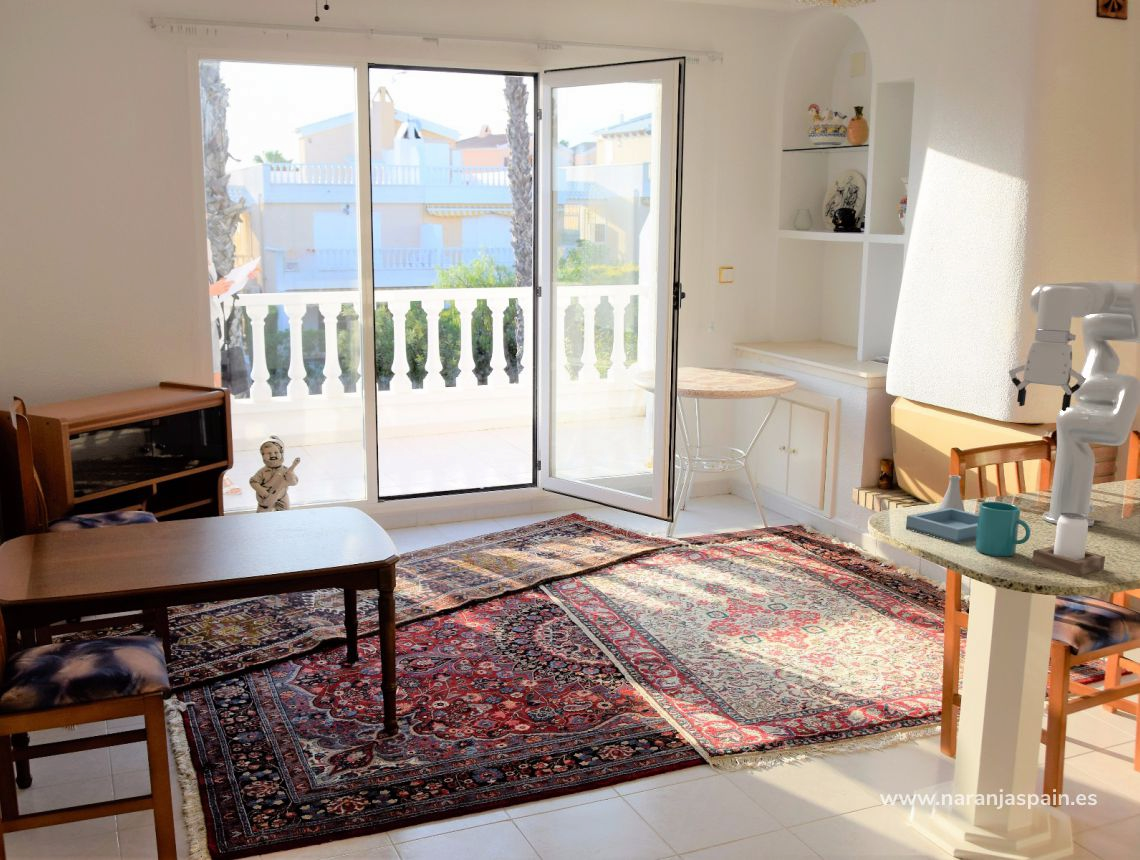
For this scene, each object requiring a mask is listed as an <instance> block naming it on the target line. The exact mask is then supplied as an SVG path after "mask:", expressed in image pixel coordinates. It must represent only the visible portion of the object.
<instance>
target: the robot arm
mask: <svg viewBox="0 0 1140 860" xmlns="http://www.w3.org/2000/svg"><path fill="white" fill-rule="evenodd" d="M1029 307H1030V309H1031V311H1032V312H1033V314H1035V315H1037V317H1036V325H1035V332H1034V334H1035V335H1034V340H1033V341H1031V343H1030V345H1029V347H1028V350H1027V356H1026V359H1025V364H1023V365H1021V366H1017V367H1015V368H1012V369H1010V370H1009V371H1008V374H1009V376H1010V379H1011V382H1012V383H1013V385H1014V386H1015V387H1016V388H1017V390H1018V391H1017V392H1018V393H1017V401H1016V402H1017V403H1018V406H1019V407H1023V406H1025V403H1026V397H1027V388H1026V387H1027V386H1028V385H1029V384H1030V383H1031V384H1036V385H1037V384H1038V385H1046V386H1059V387H1061V388H1062V390H1063V391H1064V394H1063V396H1062V404H1061V408H1060V409H1059V410H1058V412H1057V414H1056V422H1055V423H1056V424H1055V425H1056V453H1055V454H1056V455H1055V462H1054V470H1053V471H1054V472H1053V478H1052V479H1053V480H1052V486H1051V496H1050V504H1049V511H1045V512H1043V513H1042V519H1043V520H1044V521H1045V522H1048V523H1051V524H1056V525H1057V522H1058V519H1059V517H1060V516H1061V515H1060V514H1061V513H1077V514H1082V515H1085V516H1087V521H1088V526H1089V527H1092V526H1094V524H1095V520H1094V519H1093V518H1091V517H1090V516H1089V513H1092V512H1095V511H1096V506H1095V505H1094V504H1091V496H1092V489H1093V483H1094V480H1093V479H1094V474H1095V467H1096V457H1095V454H1094V452H1093V449H1092V448H1091V446H1090V443H1092V444H1097V445H1098V444H1099V445H1103V446H1111V447H1113V446H1114V447H1116V446H1117V447H1118V446H1121V445H1123V444H1124V443H1125V442H1126V441H1127V438H1128V436H1129V434H1130V431H1131V428H1132V426H1133V422H1134V420H1135V417H1136V415H1137V412H1138V408H1139V405H1140V380H1139V378H1137V377H1136V376H1133V375H1129V374H1124V373H1123V374H1122V373H1117V372H1118V369H1119V367H1120V363H1121V360H1120V357H1119V356H1118V355H1119V354H1117V352H1116V350H1115V349H1114V348H1113V347H1112V346H1111V344H1110V343H1109V342H1108V341H1112V342H1113V341H1114V342H1123V343H1124V342H1126V343H1135V344H1139V343H1140V283H1139V282H1135V281H1120V280H1119V281H1118V280H1095V281H1081V282H1079V281H1078V282H1077V281H1076V282H1065V283H1064V282H1063V283H1043V284H1038V285H1037V286H1036V287H1035V288H1034V289H1033V290H1032V292H1031V294H1030V297H1029ZM1072 318H1075V319H1076V318H1077V319H1079V318H1082V322H1081V323H1082V324H1081V330H1082V339H1083V345H1084V352H1085V357H1084V358H1085V359H1084V361H1083V364H1082V367H1081V369H1080V372H1078V371H1076V370H1074V369H1073V368H1072V367H1073V366H1072V365H1073V347H1072V344H1069V343H1070V342H1072V341H1075V340H1076V339H1077V338H1076V336H1077V335H1076V334H1072V333H1071V323H1072ZM1021 372H1023V380H1022V381H1021V380H1020V379H1019V377H1018V376H1017V374H1018V373H1021ZM1072 377H1073V378H1075V379H1076V380H1077V381H1076V383H1075V384H1074V385H1073V386H1071V385H1070V382H1071V378H1072ZM1072 395H1073V397H1074V400H1075V402H1077V403H1074V404H1073V403H1071V400H1072Z"/></svg>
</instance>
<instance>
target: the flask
mask: <svg viewBox="0 0 1140 860" xmlns="http://www.w3.org/2000/svg"><path fill="white" fill-rule="evenodd" d="M948 477H949V483H948V487H947V490H946V492H945V494H944V496H943V499H942V500H941V503H940V504H939V507H938V509H937V510H940V509H945V508H954V509H958V510H962V511H965V506H964V503H963V500H962V499H963V498H962V495H961V489H960V488H961V487H960V486H961V485H960V481H961V480H962V476H960V475H954V474H951V475H948ZM965 512H966V511H965Z"/></svg>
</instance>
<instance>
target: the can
mask: <svg viewBox="0 0 1140 860" xmlns="http://www.w3.org/2000/svg"><path fill="white" fill-rule="evenodd" d="M1060 515H1061V516H1060V517H1059V519H1058V522H1057V524H1056V530H1055V540H1054V545H1053V546H1054V554H1055V555H1059V556H1062V557H1066V558H1070V559H1073V560H1079V559H1083V558H1084V557H1085V551H1086V547H1087V540H1088V531H1089V527H1088V521H1087V516H1085V515H1082V514H1077V513H1061V514H1060Z"/></svg>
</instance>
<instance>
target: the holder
mask: <svg viewBox="0 0 1140 860" xmlns="http://www.w3.org/2000/svg"><path fill="white" fill-rule="evenodd" d="M1054 546H1055V545H1051V546H1048V547H1044V548H1038V549H1034V550H1032V551H1033V553H1032V559H1031V563H1032V564H1033V565H1036V564H1037V566H1040V567H1043V568H1044V567H1045V568H1047V569H1050V570H1054V571H1058V572H1061V573H1063V574H1064V573H1065V574H1069V575H1072V576H1075V577H1080V576H1083V575H1087V574H1090V573H1094V572H1098V571H1101V569H1102V570H1104V569H1105V560H1106V556H1105V555H1101V554H1098V553H1094V552H1091V551H1090V552H1089V551H1086V550H1085V557H1084V558H1083V559H1079V560H1073V559H1070V558H1066V557H1062V556H1059V555H1055V554H1054Z"/></svg>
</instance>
